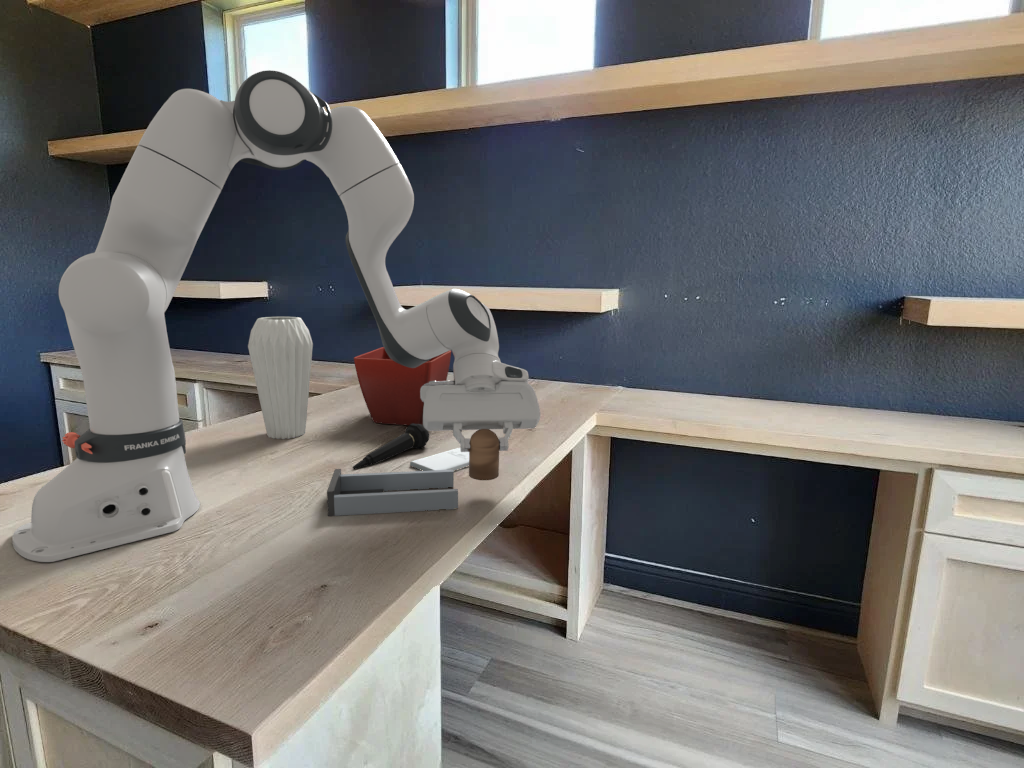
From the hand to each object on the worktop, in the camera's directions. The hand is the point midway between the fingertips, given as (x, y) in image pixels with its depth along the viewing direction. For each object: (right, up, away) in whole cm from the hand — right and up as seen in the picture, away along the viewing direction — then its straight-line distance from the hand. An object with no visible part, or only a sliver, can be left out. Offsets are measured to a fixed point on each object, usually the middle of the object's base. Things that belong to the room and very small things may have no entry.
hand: (484, 449), depth 94 cm
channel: (-15, -8, 0) cm, 17 cm away
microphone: (-20, -4, +22) cm, 30 cm away
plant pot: (-22, +2, +50) cm, 55 cm away
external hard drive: (-8, -5, +18) cm, 20 cm away
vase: (-47, -1, +35) cm, 58 cm away
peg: (0, -4, +2) cm, 5 cm away
